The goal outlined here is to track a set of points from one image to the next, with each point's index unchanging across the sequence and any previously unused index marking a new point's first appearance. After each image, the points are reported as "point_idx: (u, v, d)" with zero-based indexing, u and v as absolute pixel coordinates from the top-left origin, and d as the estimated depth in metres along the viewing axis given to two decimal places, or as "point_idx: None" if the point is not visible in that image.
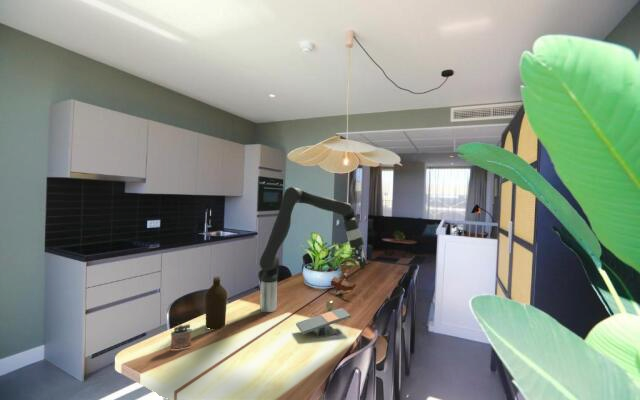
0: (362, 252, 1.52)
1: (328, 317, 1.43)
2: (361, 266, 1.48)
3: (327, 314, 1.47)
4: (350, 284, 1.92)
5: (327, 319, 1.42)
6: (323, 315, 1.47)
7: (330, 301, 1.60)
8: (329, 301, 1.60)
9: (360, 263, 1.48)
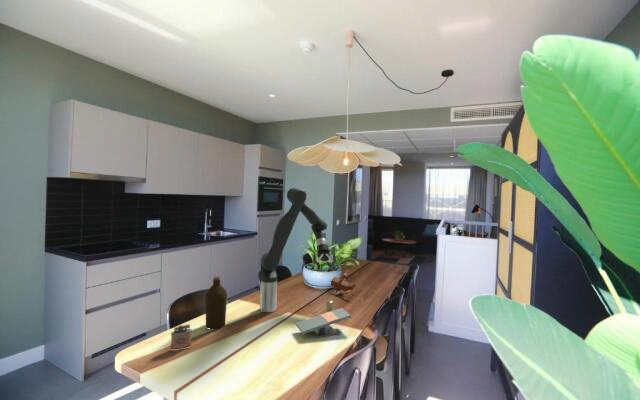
0: None
1: (328, 317, 1.43)
2: (334, 266, 1.73)
3: (327, 314, 1.47)
4: (350, 284, 1.92)
5: (327, 319, 1.42)
6: (323, 315, 1.47)
7: (330, 301, 1.60)
8: (329, 301, 1.60)
9: (333, 263, 1.74)
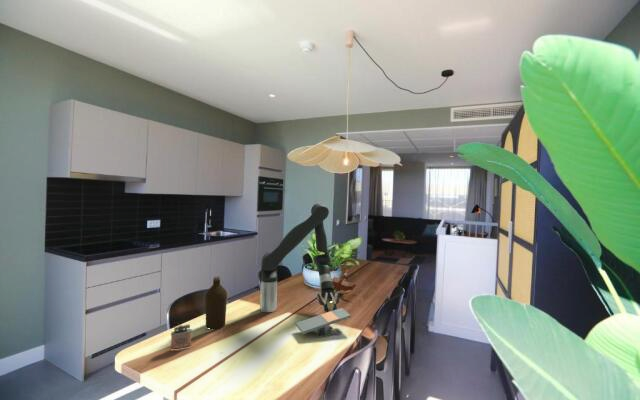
0: None
1: (328, 317, 1.43)
2: (336, 308, 1.60)
3: (327, 314, 1.47)
4: (350, 284, 1.92)
5: (327, 319, 1.42)
6: (323, 315, 1.47)
7: (330, 301, 1.60)
8: (329, 301, 1.60)
9: None
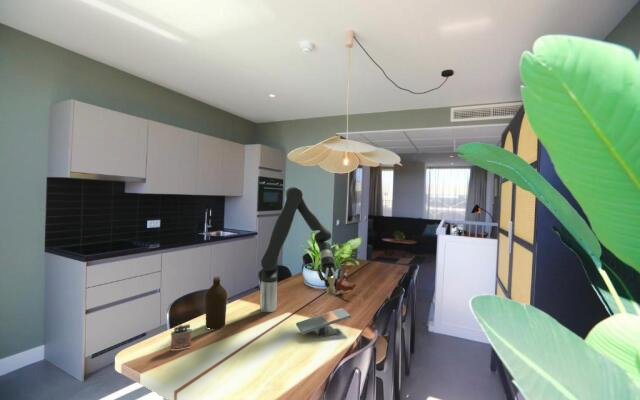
0: None
1: (328, 317, 1.43)
2: (337, 283, 1.54)
3: (327, 314, 1.47)
4: (350, 284, 1.92)
5: (327, 319, 1.42)
6: (323, 315, 1.47)
7: (331, 276, 1.55)
8: (330, 276, 1.54)
9: None
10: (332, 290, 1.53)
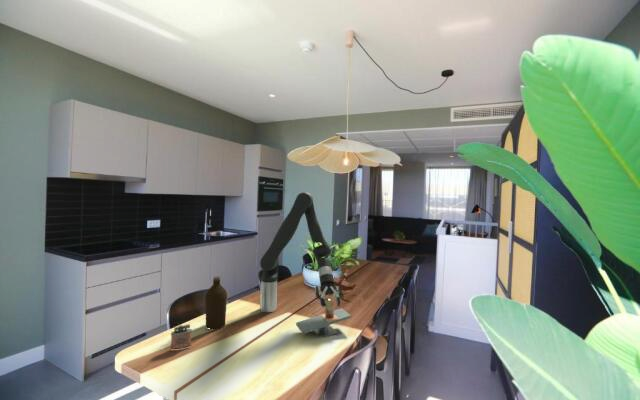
0: None
1: None
2: None
3: None
4: (350, 284, 1.92)
5: (327, 319, 1.42)
6: (323, 315, 1.47)
7: (328, 299, 1.44)
8: (326, 299, 1.44)
9: (339, 299, 1.46)
10: (331, 314, 1.43)
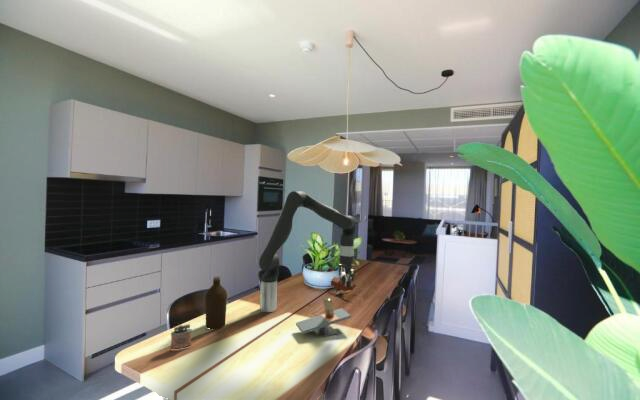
0: None
1: None
2: (348, 286, 1.44)
3: None
4: None
5: (327, 319, 1.42)
6: (323, 315, 1.47)
7: (328, 299, 1.44)
8: (326, 299, 1.44)
9: (348, 282, 1.44)
10: (331, 314, 1.43)
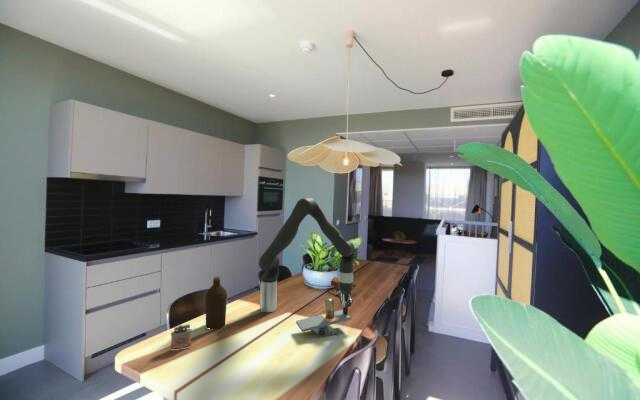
0: None
1: None
2: (346, 311, 1.47)
3: None
4: None
5: (327, 319, 1.42)
6: (323, 315, 1.47)
7: (329, 299, 1.45)
8: (328, 299, 1.44)
9: (346, 308, 1.47)
10: (332, 314, 1.43)
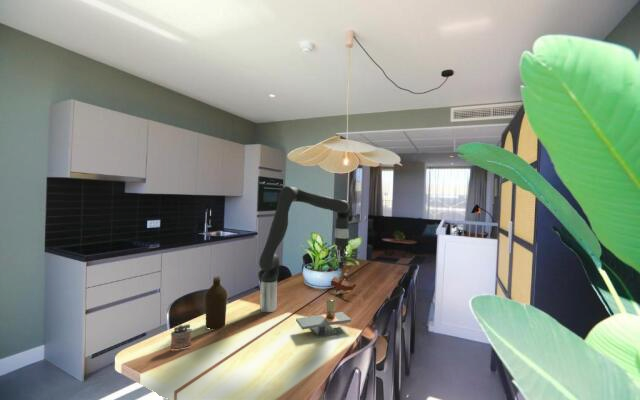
0: None
1: None
2: (341, 266, 1.54)
3: None
4: (350, 284, 1.92)
5: (327, 319, 1.42)
6: (323, 315, 1.47)
7: (331, 299, 1.45)
8: (330, 299, 1.45)
9: (341, 263, 1.54)
10: (332, 315, 1.43)
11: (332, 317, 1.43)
